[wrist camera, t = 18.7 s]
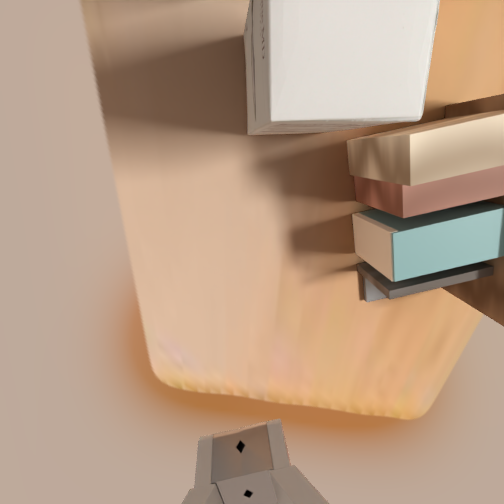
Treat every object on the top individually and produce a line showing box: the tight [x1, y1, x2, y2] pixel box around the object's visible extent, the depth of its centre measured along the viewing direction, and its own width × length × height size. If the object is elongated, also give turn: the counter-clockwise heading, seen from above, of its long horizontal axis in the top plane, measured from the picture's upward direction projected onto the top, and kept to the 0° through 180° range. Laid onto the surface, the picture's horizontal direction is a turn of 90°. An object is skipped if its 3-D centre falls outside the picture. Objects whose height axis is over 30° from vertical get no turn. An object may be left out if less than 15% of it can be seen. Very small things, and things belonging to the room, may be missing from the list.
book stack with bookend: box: [347, 94, 504, 326], centre depth 24 cm, size 18×10×9 cm, turn 12°
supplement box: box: [244, 0, 440, 135], centre depth 17 cm, size 7×7×13 cm
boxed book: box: [352, 201, 504, 282], centre depth 25 cm, size 4×9×7 cm, turn 102°
